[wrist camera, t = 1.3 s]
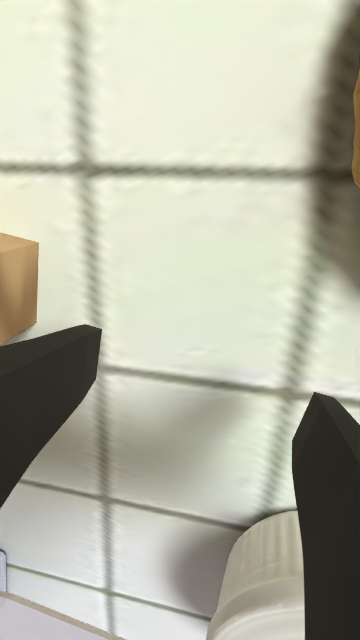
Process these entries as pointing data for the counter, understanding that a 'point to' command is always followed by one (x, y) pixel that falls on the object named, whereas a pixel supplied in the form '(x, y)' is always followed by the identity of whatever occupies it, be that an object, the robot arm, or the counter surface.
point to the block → (17, 285)
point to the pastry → (356, 134)
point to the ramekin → (263, 584)
